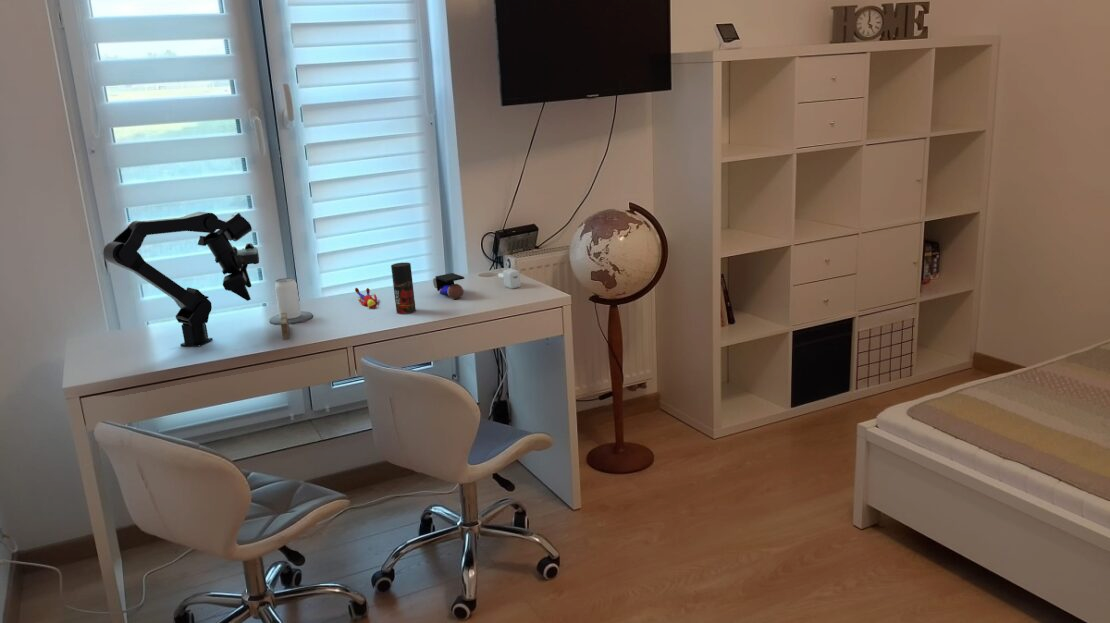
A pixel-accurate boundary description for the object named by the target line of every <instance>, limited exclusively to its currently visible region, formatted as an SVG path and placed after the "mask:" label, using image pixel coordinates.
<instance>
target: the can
mask: <svg viewBox="0 0 1110 623" xmlns="http://www.w3.org/2000/svg"><path fill="white" fill-rule="evenodd" d="M274 288H275V295H276V296H275V297H276V303H277V310H278V315H279V316H280V318H281V313H285V312H286V313H287V320H288V319H295V318H298V317H300V315H301V311H302V310H301V304H300V299H299V298H300V297H299V292H298V291H299V290H298V285H297V282H296V280H295V277H283V278H277V279H275V284H274Z"/></svg>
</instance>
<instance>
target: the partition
mask: <svg viewBox="0 0 1110 623" xmlns="http://www.w3.org/2000/svg"><path fill="white" fill-rule="evenodd" d="M280 326H281V327H280V328H281V333H282V340H288V339H289V337H290V336H289V334H290V333H289V332H290V331H289V324H288V320H287V313H286V312H285V313H281V325H280Z"/></svg>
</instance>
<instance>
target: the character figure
mask: <svg viewBox="0 0 1110 623" xmlns="http://www.w3.org/2000/svg"><path fill="white" fill-rule="evenodd" d="M354 291H355V293H356V294H357V295H358V296H359V297H358V301H359V302H360V305H361V306H364V307H368V308H369V309H370V310H371V309H372V310H373V309H375V308H376V306H377V303H378V297H377V294H376V293H374V292H372V295H373V296H372V295H371V294H370V292H371V290H370V288H369V287H367V288H366V289H365V291H366V295H365V294H362V293H361V292H360V290H359V288H358V287H355V288H354ZM373 297H374V298H373ZM363 301H364V302H363Z"/></svg>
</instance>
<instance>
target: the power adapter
mask: <svg viewBox="0 0 1110 623" xmlns="http://www.w3.org/2000/svg"><path fill="white" fill-rule="evenodd" d="M520 275H521V274H520V271H519V270H516V269H515V268H509V269H504V270H503V271H502V272H499V273H496V275H495V276H497V277H498V278H499V279H501V280H503V286H504V287H506V288H508V289H511V290H513V289H516V288H517V289H518V288H520V287H521V276H520Z"/></svg>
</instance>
